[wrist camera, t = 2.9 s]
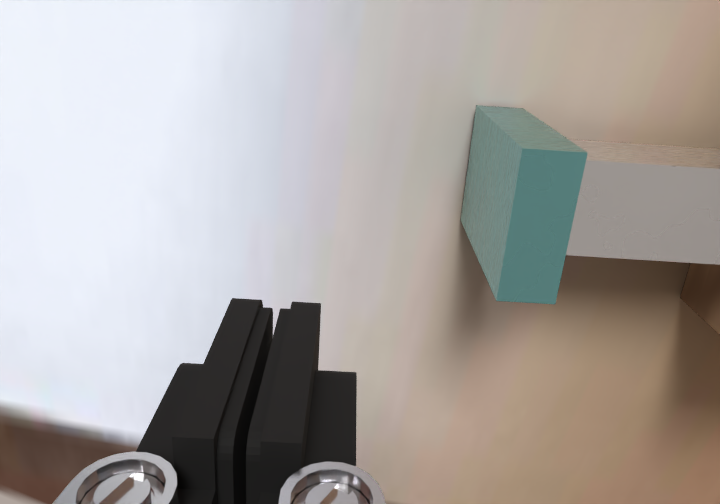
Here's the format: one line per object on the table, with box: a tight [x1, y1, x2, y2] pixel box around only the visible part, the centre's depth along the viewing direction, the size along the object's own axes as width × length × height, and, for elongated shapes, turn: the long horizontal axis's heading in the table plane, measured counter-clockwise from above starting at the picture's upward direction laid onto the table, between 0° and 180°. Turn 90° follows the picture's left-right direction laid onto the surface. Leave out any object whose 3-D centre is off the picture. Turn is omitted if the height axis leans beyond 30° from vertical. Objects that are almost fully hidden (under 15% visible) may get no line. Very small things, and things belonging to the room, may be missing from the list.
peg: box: [461, 105, 720, 304], centre depth 23 cm, size 5×14×8 cm, turn 86°
